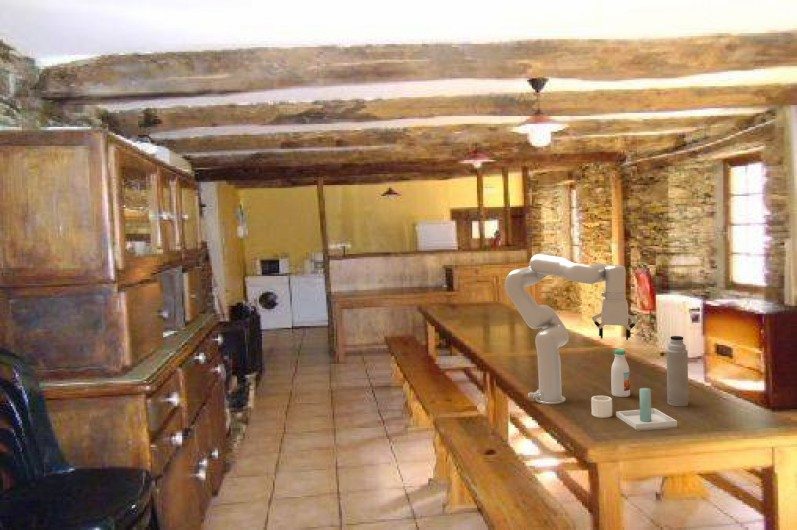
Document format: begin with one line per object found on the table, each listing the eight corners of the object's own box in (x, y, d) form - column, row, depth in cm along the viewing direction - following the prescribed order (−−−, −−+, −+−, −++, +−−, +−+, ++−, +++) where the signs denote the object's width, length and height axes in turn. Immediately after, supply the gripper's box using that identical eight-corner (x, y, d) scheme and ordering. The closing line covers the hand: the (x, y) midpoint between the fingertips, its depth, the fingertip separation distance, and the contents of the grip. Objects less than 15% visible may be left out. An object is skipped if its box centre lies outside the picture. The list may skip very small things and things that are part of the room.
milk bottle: (618, 398, 277) (617, 352, 275) (608, 393, 284) (606, 349, 283) (633, 396, 279) (633, 350, 277) (623, 391, 286) (622, 347, 285)
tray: (636, 431, 235) (635, 424, 235) (616, 417, 251) (616, 411, 251) (677, 427, 237) (677, 420, 237) (654, 414, 253) (654, 408, 252)
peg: (643, 422, 241) (642, 391, 241) (638, 419, 245) (637, 388, 245) (653, 421, 242) (652, 390, 241) (648, 418, 246) (647, 387, 245)
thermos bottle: (664, 401, 269) (662, 335, 267) (682, 400, 269) (681, 334, 267) (672, 406, 261) (671, 338, 259) (692, 405, 261) (691, 337, 259)
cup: (596, 419, 250) (596, 401, 249) (588, 413, 258) (588, 396, 257) (615, 417, 251) (615, 400, 250) (607, 412, 259) (606, 394, 258)
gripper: (591, 296, 254) (591, 339, 256) (638, 298, 248) (637, 342, 250) (592, 294, 261) (592, 335, 263) (638, 295, 255) (637, 338, 257)
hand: (614, 338), depth 256 cm, fingers open, 9 cm apart
